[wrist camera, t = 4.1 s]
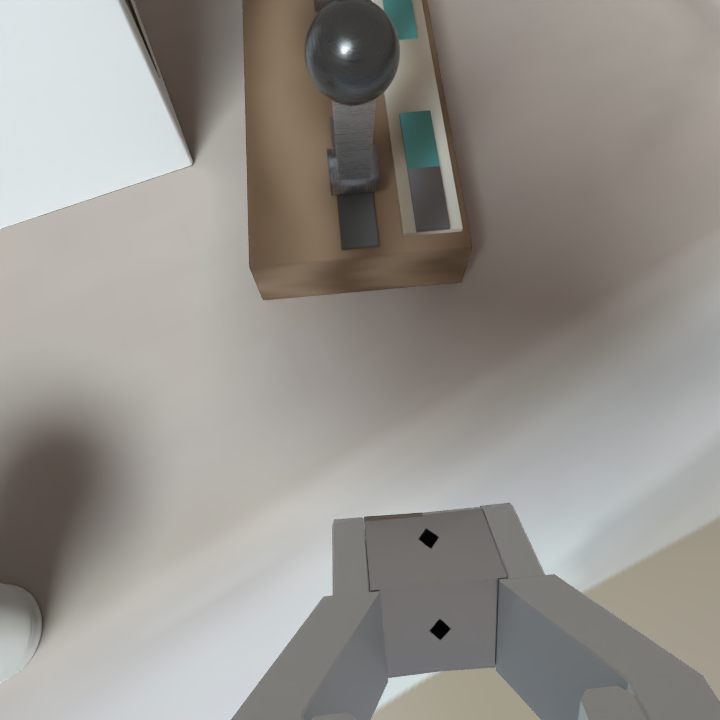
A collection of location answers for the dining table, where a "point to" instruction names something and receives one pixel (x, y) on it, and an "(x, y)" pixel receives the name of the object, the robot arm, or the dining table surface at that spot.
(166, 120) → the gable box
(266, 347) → the dining table surface
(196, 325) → the dining table surface
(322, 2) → the lever
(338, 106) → the lever
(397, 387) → the dining table surface
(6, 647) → the cup with straw
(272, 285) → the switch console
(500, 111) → the dining table surface
